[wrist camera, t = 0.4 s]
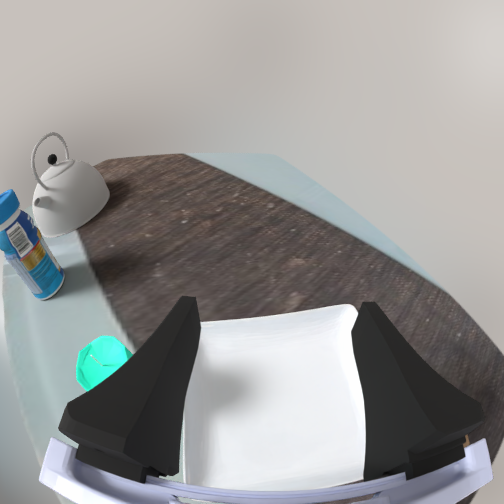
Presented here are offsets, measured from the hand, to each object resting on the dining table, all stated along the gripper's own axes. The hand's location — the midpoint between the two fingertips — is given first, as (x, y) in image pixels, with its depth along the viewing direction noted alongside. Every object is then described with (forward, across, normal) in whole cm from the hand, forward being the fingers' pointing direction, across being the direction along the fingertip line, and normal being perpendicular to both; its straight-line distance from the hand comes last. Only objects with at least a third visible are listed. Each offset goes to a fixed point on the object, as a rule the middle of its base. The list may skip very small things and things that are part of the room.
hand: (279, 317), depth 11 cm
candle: (+4, +14, +21) cm, 26 cm away
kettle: (+45, +51, +18) cm, 70 cm away
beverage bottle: (+21, +41, +21) cm, 50 cm away
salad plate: (+4, -2, +20) cm, 21 cm away
